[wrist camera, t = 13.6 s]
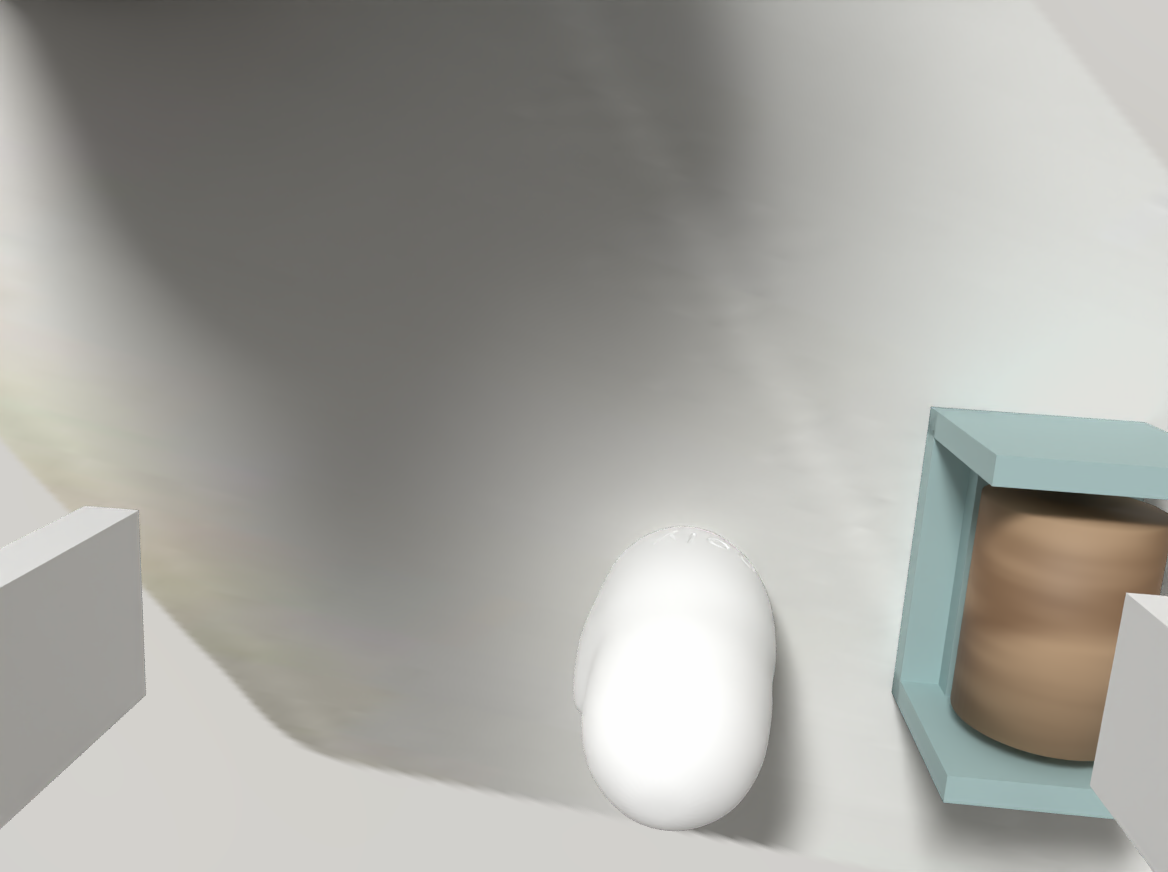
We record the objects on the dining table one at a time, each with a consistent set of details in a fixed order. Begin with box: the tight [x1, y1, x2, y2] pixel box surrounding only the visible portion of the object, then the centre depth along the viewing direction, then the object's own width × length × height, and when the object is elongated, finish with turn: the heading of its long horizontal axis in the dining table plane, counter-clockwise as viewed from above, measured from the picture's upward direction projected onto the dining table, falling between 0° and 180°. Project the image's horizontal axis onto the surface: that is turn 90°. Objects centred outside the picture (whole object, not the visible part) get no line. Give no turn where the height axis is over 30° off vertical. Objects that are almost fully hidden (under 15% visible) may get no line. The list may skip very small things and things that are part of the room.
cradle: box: [892, 407, 1168, 819], centre depth 36 cm, size 12×8×8 cm, turn 177°
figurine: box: [573, 526, 776, 831], centre depth 36 cm, size 7×8×12 cm
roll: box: [950, 484, 1168, 761], centre depth 36 cm, size 8×6×6 cm
